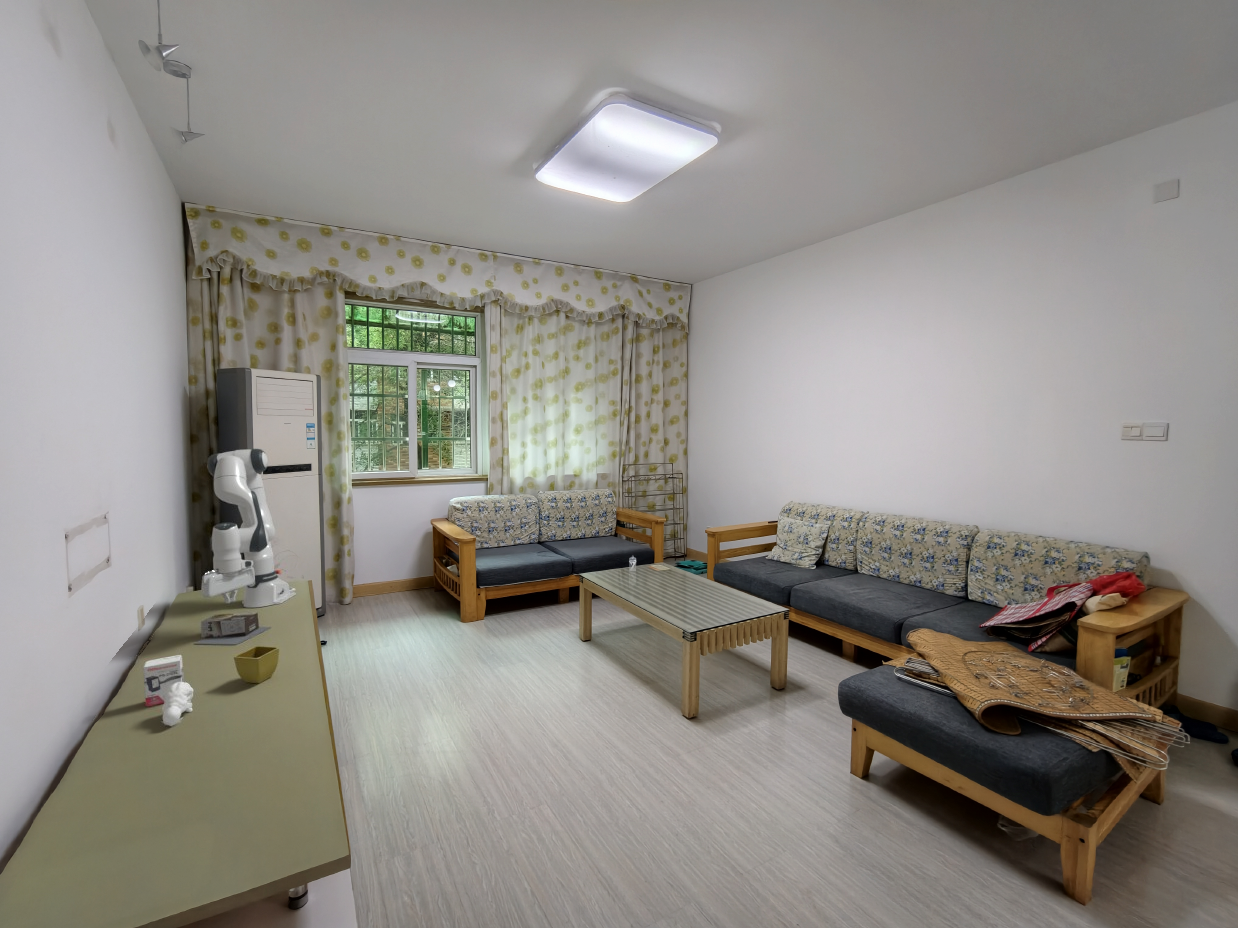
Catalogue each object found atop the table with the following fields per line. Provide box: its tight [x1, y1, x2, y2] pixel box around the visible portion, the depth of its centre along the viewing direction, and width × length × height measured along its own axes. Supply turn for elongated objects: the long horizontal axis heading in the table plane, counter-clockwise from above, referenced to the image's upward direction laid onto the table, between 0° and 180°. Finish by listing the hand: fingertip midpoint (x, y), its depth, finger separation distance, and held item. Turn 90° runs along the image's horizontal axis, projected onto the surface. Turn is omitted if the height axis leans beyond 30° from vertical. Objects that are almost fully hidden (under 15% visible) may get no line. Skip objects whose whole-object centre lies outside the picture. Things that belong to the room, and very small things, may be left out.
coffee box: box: [200, 612, 260, 638], centre depth 218 cm, size 9×6×16 cm
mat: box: [193, 626, 272, 646], centre depth 216 cm, size 18×17×1 cm
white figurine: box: [160, 681, 194, 727], centre depth 153 cm, size 6×8×12 cm
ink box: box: [142, 654, 184, 707], centre depth 164 cm, size 8×5×12 cm, turn 123°
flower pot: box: [233, 645, 280, 684], centre depth 176 cm, size 9×9×9 cm
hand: (230, 602), depth 215 cm, fingers closed
